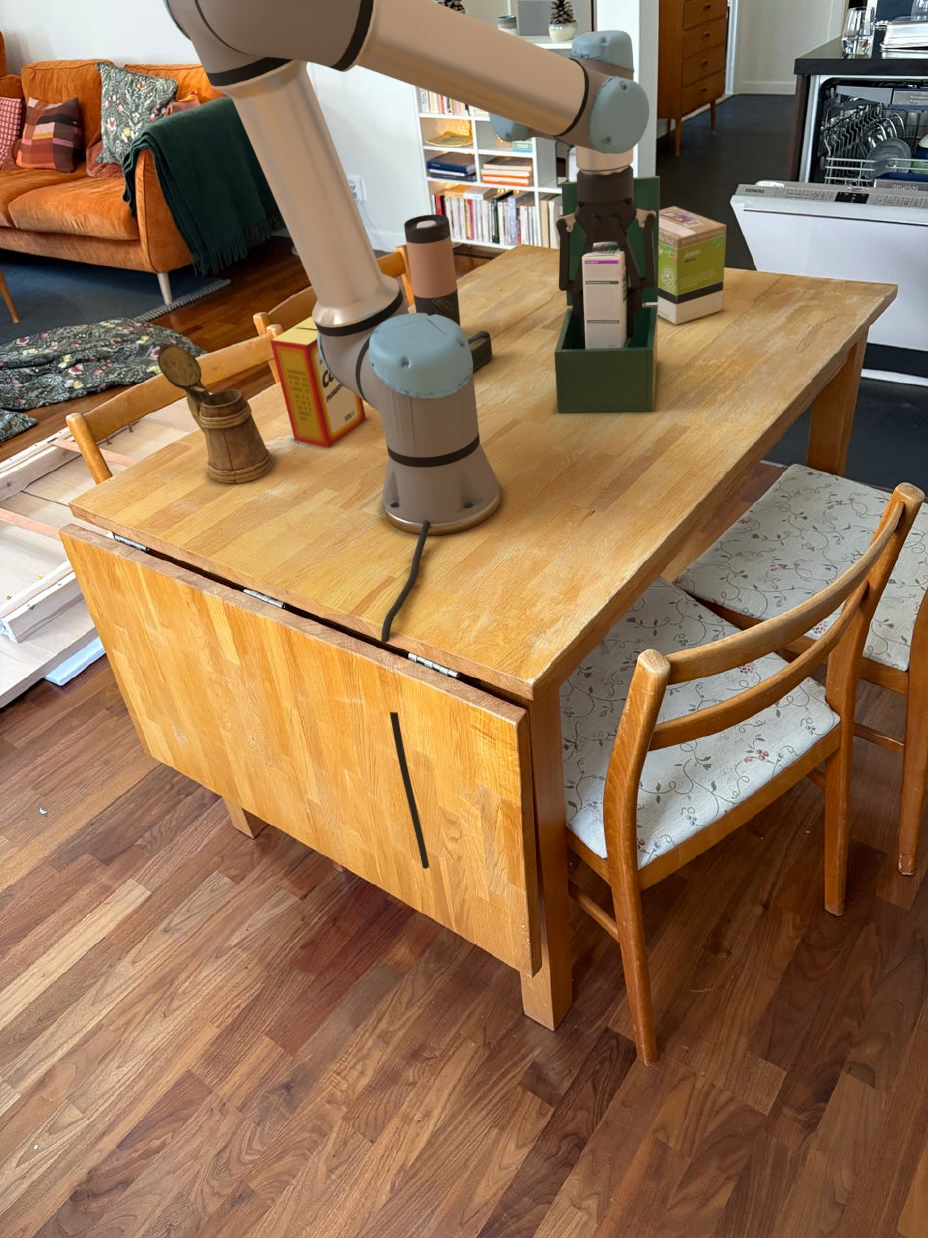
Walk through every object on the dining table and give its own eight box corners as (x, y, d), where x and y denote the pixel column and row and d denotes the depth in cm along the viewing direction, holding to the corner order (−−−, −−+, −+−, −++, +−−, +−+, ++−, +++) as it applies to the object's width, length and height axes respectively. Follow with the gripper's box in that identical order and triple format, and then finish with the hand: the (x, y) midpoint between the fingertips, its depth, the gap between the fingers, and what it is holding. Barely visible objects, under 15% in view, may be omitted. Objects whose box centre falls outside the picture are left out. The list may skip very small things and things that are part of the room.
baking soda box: (328, 447, 141) (305, 343, 131) (294, 440, 144) (269, 337, 134) (366, 419, 147) (346, 317, 137) (333, 412, 150) (311, 313, 140)
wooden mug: (217, 444, 146) (183, 330, 135) (285, 459, 139) (255, 340, 128) (176, 472, 140) (136, 355, 129) (245, 489, 134) (209, 367, 123)
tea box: (626, 301, 173) (625, 216, 164) (673, 288, 176) (675, 203, 166) (675, 326, 162) (677, 236, 153) (724, 311, 164) (729, 221, 155)
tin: (652, 411, 138) (653, 349, 133) (557, 412, 141) (554, 352, 136) (657, 362, 151) (657, 304, 145) (569, 365, 154) (567, 307, 148)
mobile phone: (478, 327, 158) (425, 360, 149) (493, 329, 157) (441, 363, 148) (481, 355, 161) (429, 390, 152) (496, 358, 160) (444, 393, 151)
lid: (659, 177, 134) (661, 162, 140) (561, 183, 137) (567, 169, 143) (657, 302, 145) (659, 284, 151) (566, 305, 148) (572, 287, 154)
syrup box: (623, 355, 139) (623, 254, 130) (583, 354, 141) (581, 254, 132) (631, 340, 144) (632, 241, 135) (592, 338, 145) (590, 241, 136)
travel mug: (464, 328, 171) (451, 212, 159) (460, 345, 165) (446, 226, 153) (422, 331, 172) (406, 216, 160) (417, 348, 167) (399, 230, 154)
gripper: (679, 154, 128) (675, 322, 142) (536, 164, 132) (546, 326, 146) (678, 169, 122) (673, 342, 136) (529, 179, 126) (540, 346, 140)
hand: (608, 334), depth 141 cm, fingers closed on syrup box, 6 cm apart
